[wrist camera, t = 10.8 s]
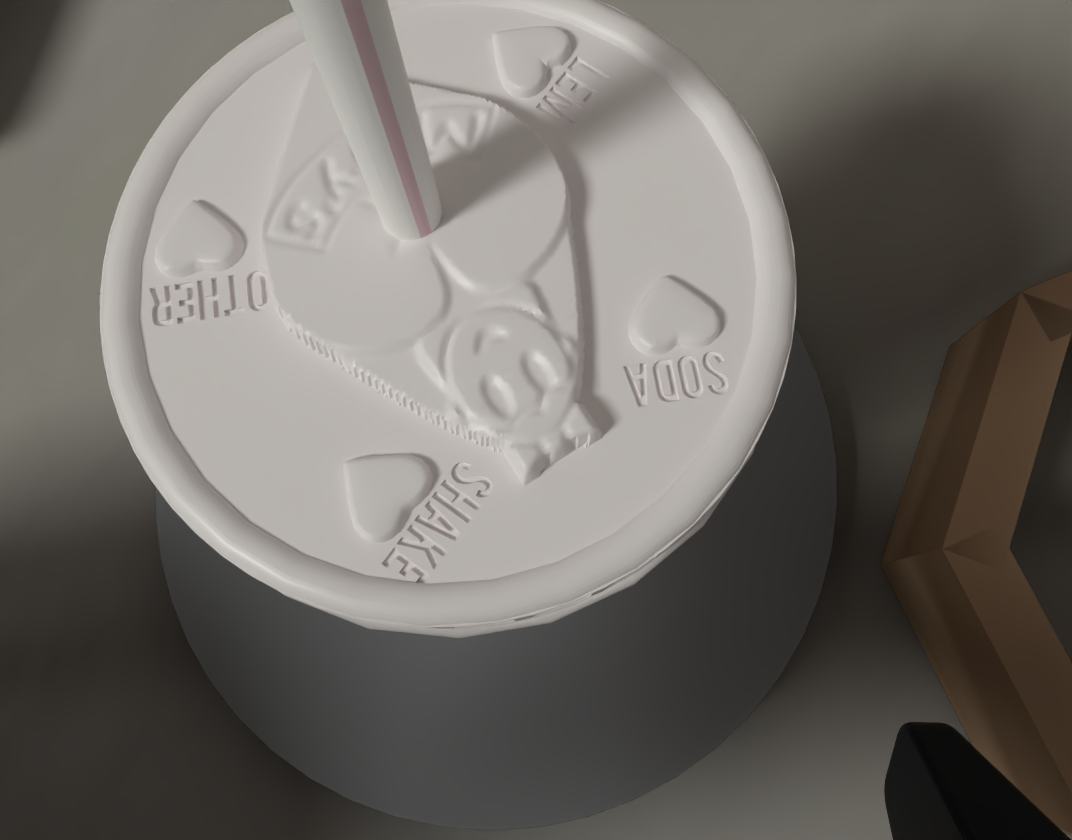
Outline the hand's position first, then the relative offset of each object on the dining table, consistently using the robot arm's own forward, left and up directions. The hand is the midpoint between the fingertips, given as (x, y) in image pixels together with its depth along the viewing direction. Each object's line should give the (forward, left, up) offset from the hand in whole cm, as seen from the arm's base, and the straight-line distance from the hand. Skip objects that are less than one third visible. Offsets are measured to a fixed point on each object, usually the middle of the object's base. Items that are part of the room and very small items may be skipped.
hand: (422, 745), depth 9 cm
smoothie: (+2, +4, -8) cm, 9 cm away
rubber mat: (+2, +4, -9) cm, 10 cm away
